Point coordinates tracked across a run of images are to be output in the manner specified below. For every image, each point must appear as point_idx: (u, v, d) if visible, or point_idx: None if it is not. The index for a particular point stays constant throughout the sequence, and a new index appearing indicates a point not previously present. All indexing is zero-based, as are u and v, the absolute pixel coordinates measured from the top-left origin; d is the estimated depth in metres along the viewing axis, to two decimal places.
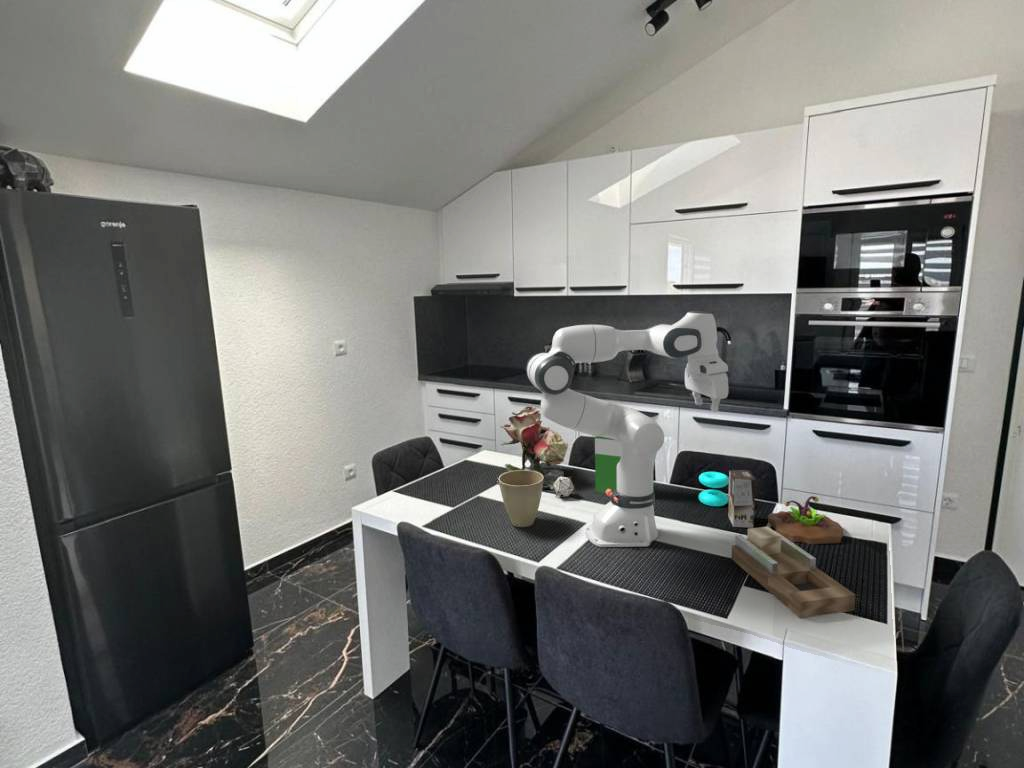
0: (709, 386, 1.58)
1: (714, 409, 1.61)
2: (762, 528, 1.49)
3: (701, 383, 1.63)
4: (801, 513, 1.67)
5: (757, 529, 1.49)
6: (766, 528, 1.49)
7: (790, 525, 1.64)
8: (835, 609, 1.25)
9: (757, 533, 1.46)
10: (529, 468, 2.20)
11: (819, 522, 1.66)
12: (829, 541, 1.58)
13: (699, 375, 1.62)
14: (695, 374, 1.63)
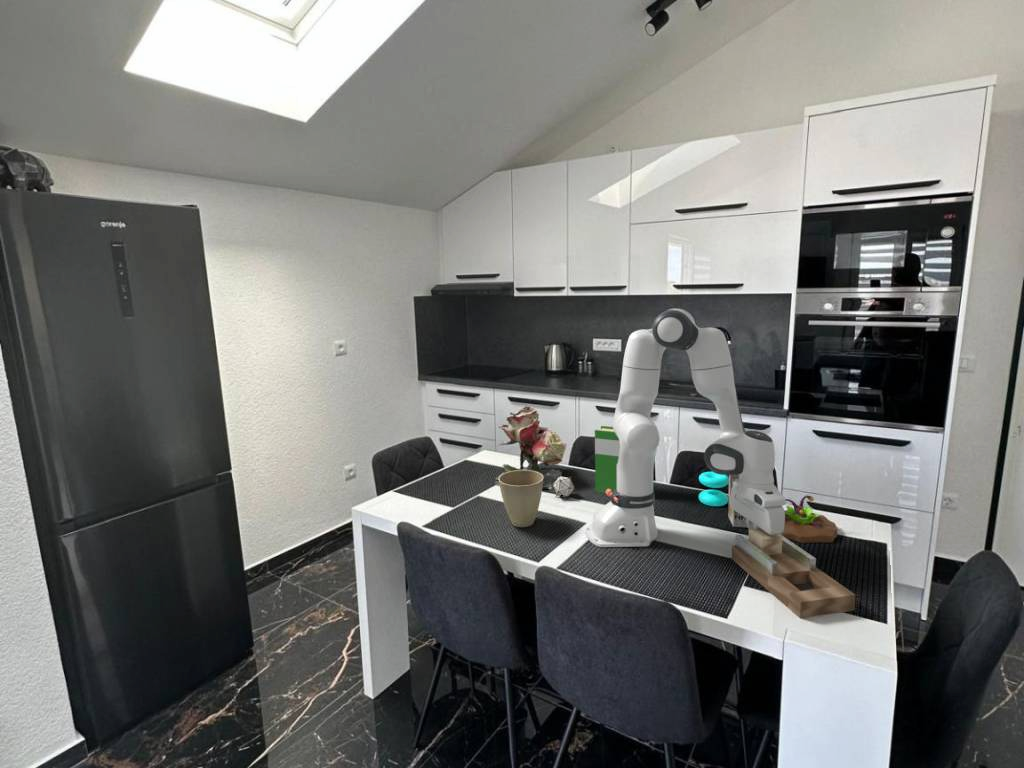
0: (762, 518, 1.45)
1: None
2: None
3: (752, 510, 1.49)
4: (796, 512, 1.68)
5: (758, 529, 1.49)
6: None
7: None
8: (835, 609, 1.25)
9: (758, 534, 1.46)
10: (527, 468, 2.20)
11: (814, 521, 1.67)
12: (820, 540, 1.59)
13: (751, 502, 1.48)
14: (746, 500, 1.49)
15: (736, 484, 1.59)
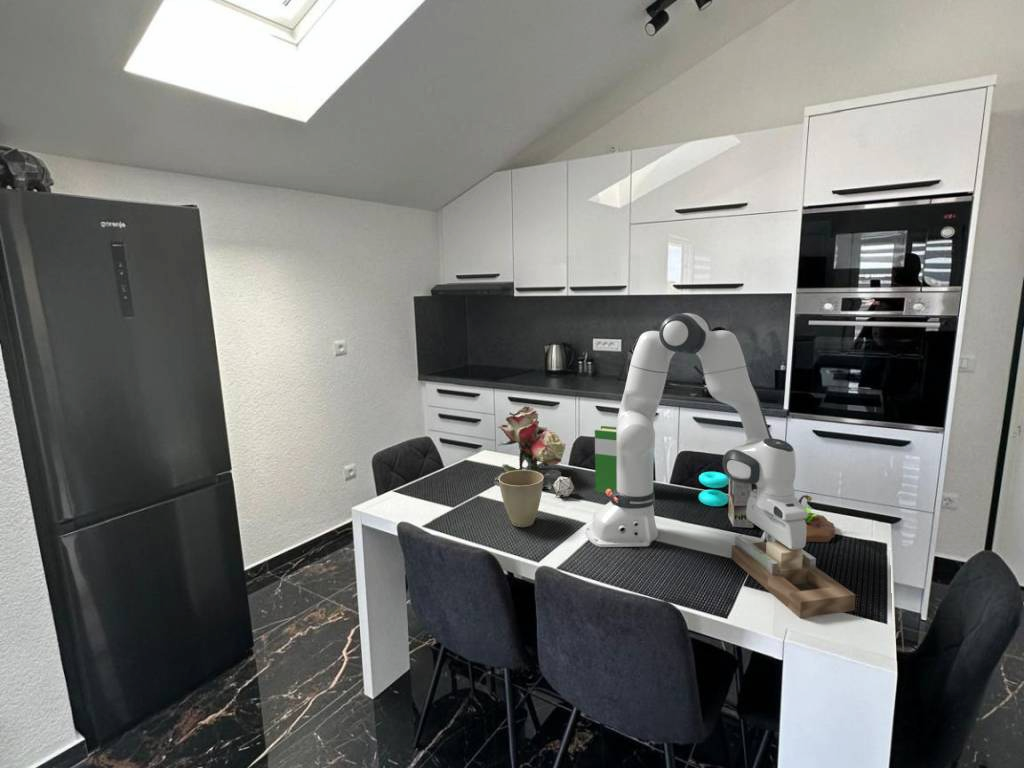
0: (782, 531, 1.37)
1: None
2: None
3: (771, 523, 1.41)
4: None
5: (777, 542, 1.41)
6: None
7: None
8: (835, 609, 1.25)
9: (777, 548, 1.38)
10: (526, 468, 2.20)
11: (812, 521, 1.67)
12: (816, 540, 1.59)
13: (770, 515, 1.40)
14: (765, 512, 1.41)
15: (753, 494, 1.50)
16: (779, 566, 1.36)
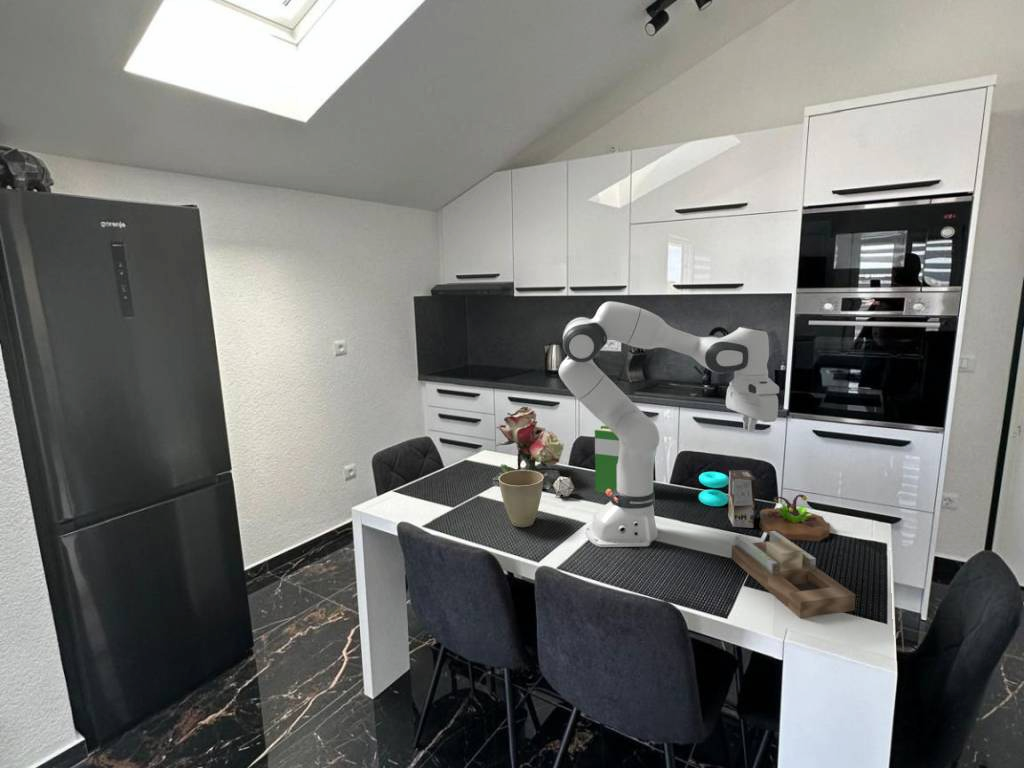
0: (756, 407, 1.49)
1: (750, 429, 1.55)
2: (782, 542, 1.41)
3: (747, 403, 1.53)
4: (788, 510, 1.69)
5: (776, 542, 1.41)
6: (785, 541, 1.41)
7: (773, 519, 1.68)
8: (835, 609, 1.25)
9: (777, 548, 1.38)
10: (525, 468, 2.20)
11: (807, 521, 1.67)
12: (806, 538, 1.60)
13: (746, 395, 1.52)
14: (741, 393, 1.53)
15: (732, 384, 1.63)
16: (779, 566, 1.36)
